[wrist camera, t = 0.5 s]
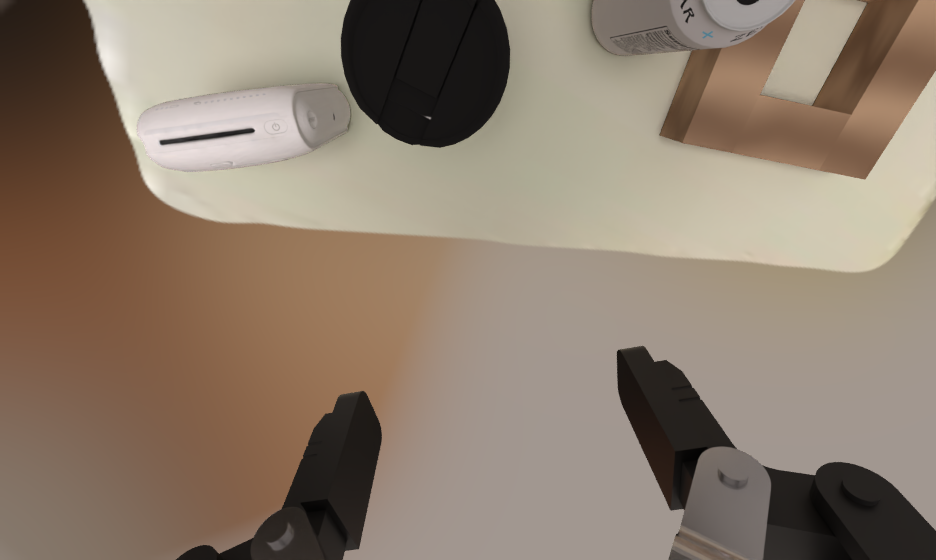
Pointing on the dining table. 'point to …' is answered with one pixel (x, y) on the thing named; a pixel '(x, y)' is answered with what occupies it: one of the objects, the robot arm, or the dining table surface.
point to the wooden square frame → (835, 109)
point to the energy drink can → (679, 23)
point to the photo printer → (243, 126)
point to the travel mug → (426, 66)
